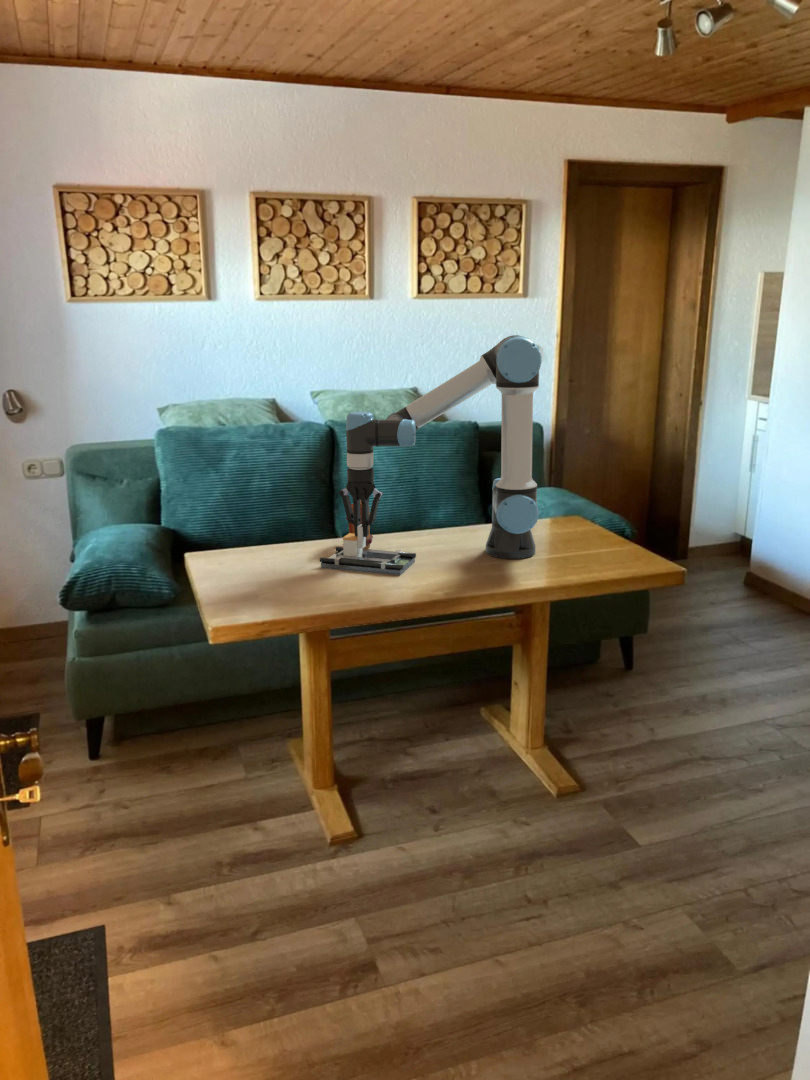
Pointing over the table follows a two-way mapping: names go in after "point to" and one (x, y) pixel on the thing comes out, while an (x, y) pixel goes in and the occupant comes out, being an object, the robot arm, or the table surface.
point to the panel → (370, 569)
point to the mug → (351, 526)
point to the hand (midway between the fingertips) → (361, 547)
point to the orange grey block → (351, 546)
